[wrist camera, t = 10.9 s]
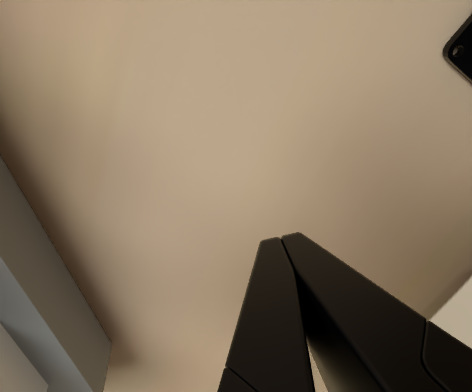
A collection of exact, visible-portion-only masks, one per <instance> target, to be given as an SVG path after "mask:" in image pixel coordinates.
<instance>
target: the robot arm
mask: <svg viewBox="0 0 472 392" xmlns="http://www.w3.org/2000/svg"><path fill="white" fill-rule="evenodd" d="M457 46H459V50H458V52H457V53H456V54H455V55H453V50H454V48H455V47H457ZM443 56H444V58H445V59H446V60H447V61H448V62H449V63H450V64H451V65H452V66H454V67H455V68H456V69H457V70H458V71H459V72H460V73H461V74H462V75H463V76H465V77H466V78H467V79H468V80H469V81H470V82H471V83H472V14H471V15H470V17H469V18H468V19H467V20H466V21H465V22H464V23H463V25H462V26H461V27H460V28H459V29H458V30H457V32H456V33H455V34H454V35H453V36H452V37H451V39H450V40H449V41H448V42H447V43H446V45H445V46H444V49H443ZM307 343H308V345H307ZM308 346H309V348H310V351H311V353H312V356H313V358H314V360H315V362H316V365H317V367H318V369H319V372H320V374H321V376H322V379H323V381H324V383H325V386H326V388H327V390H328V392H472V349H471V348H470V347H468V346H466V345H465V344H463V343H462V342H461V341H459V340H457V339H456V338H454V337H453V336H451V335H450V334H448V333H447V332H445V331H444V330H442V329H441V328H439V327H438V326H437V325H435V324H434V323H432V322H431V321H427V322H426V318H425V317H423V316H422V315H420V314H419V313H417V312H416V311H414V310H413V309H411V308H410V307H408V306H407V305H406V304H404V303H403V302H401V301H400V300H398V299H397V298H395V297H394V296H392V295H391V294H390V293H388V292H387V291H385V290H384V289H382V288H381V287H379V286H378V285H376V284H375V283H373V282H372V281H371V280H369V279H368V278H366V277H365V276H363V275H362V274H360V273H359V272H357V271H356V270H354V269H353V268H352V267H350V266H349V265H347V264H346V263H344V262H343V261H341V260H340V259H338V258H337V257H335V256H334V255H333V254H331V253H330V252H328V251H327V250H325V249H324V248H322V247H321V246H319V245H318V244H317V243H315V242H314V241H312V240H311V239H309V238H308V237H306V236H305V235H303V234H302V233H299V232H296V233H292V234H288V235H283V236H282V237H281V239H280V238H279V237H274V238H270V239H266V240H262V241H261V242H260V244H259V248H258V251H257V255H256V258H255V262H254V265H253V269H252V272H251V276H250V279H249V283H248V287H247V290H246V294H245V297H244V301H243V304H242V308H241V311H240V315H239V318H238V322H237V325H236V329H235V332H234V336H233V339H232V343H231V346H230V350H229V353H228V357H227V361H226V364H225V367H226V368H225V369H224V370H223V374H222V377H221V381H220V384H219V388H218V391H217V392H315V387H314V381H313V375H312V369H311V363H310V357H309V351H308Z"/></svg>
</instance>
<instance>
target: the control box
mask: <svg viewBox="0 0 472 392" xmlns="http://www.w3.org/2000/svg"><path fill="white" fill-rule="evenodd" d="M111 347H112V344H111V342H110V340H109V339H108V337H107V335H106V334H105V332H104V330H103V328H102V327H101V325H100V323H99V322H98V320H97V318H96V317H95V315H94V313H93V311H92V310H91V308H90V306H89V305H88V303H87V301H86V300H85V298H84V296H83V295H82V293H81V291H80V289H79V288H78V286H77V284H76V283H75V281H74V279H73V278H72V276H71V274H70V273H69V271H68V269H67V267H66V266H65V264H64V262H63V261H62V259H61V257H60V256H59V254H58V252H57V251H56V249H55V247H54V245H53V244H52V242H51V240H50V239H49V237H48V235H47V234H46V232H45V230H44V229H43V227H42V225H41V223H40V222H39V220H38V218H37V217H36V215H35V213H34V212H33V210H32V208H31V207H30V205H29V203H28V201H27V200H26V198H25V196H24V195H23V193H22V191H21V190H20V188H19V186H18V185H17V183H16V181H15V179H14V178H13V176H12V174H11V173H10V171H9V169H8V168H7V166H6V164H5V162H4V161H3V159H2V157H1V156H0V392H103V390H104V385H105V379H106V374H107V369H108V363H109V358H110V353H111Z"/></svg>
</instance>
